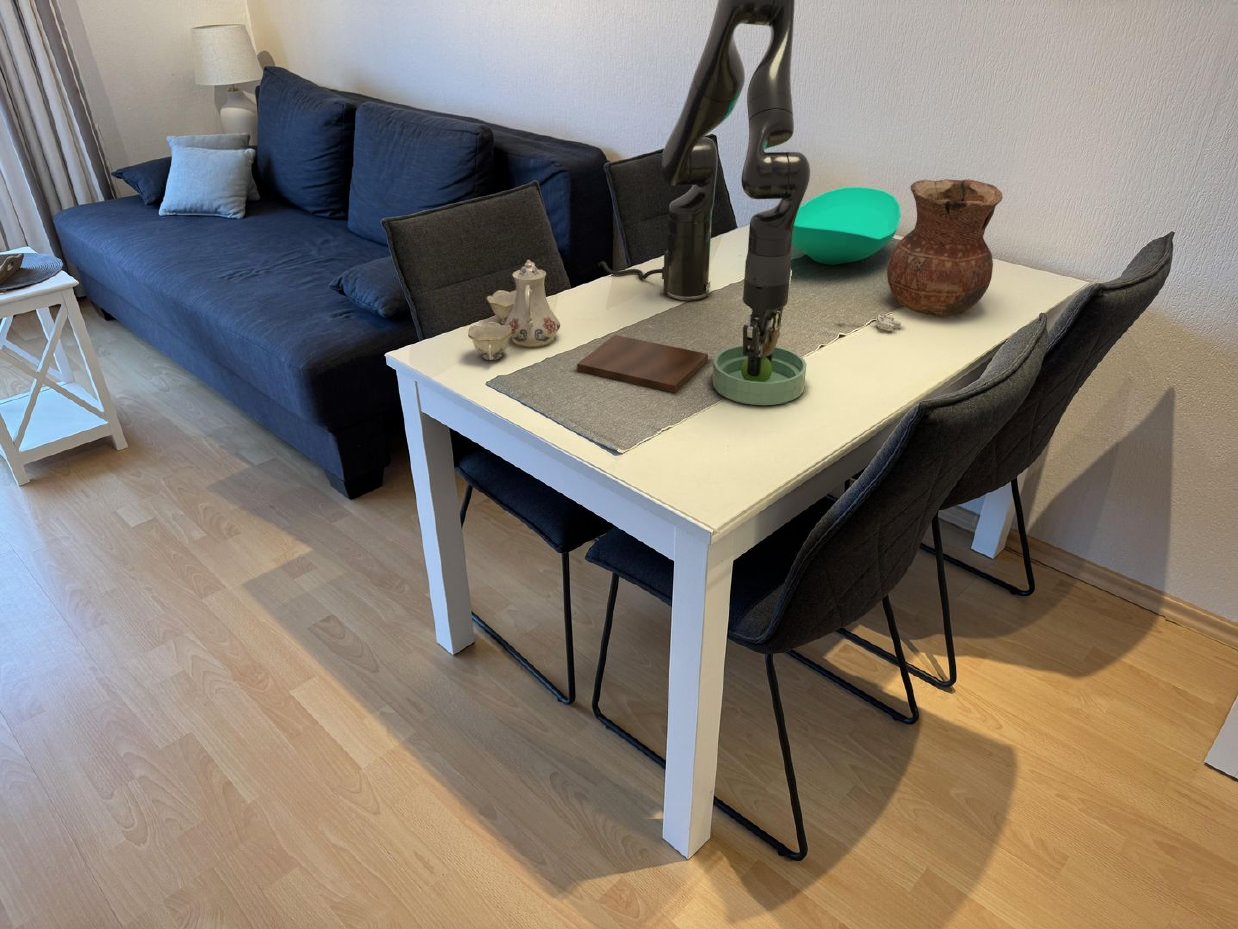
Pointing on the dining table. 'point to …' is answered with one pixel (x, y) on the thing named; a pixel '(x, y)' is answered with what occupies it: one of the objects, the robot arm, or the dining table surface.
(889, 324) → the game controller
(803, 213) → the table top decor
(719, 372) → the bowl
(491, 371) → the dining table surface
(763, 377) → the snail figurine
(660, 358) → the walnut board
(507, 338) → the chinaware
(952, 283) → the jug
